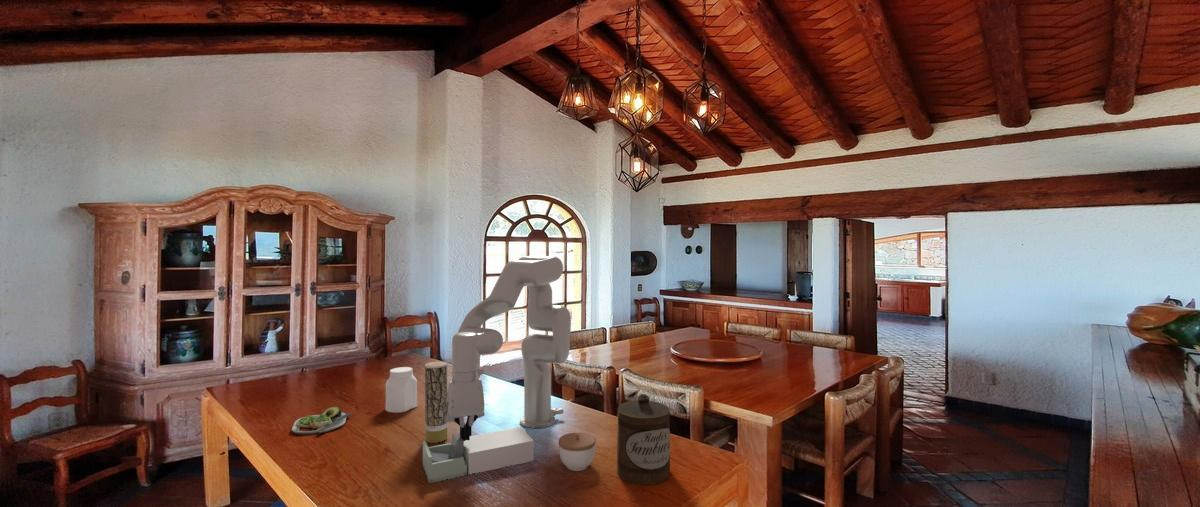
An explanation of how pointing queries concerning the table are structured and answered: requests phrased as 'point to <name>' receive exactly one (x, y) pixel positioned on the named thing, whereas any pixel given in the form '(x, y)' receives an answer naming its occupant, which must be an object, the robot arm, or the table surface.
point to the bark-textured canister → (436, 401)
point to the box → (442, 464)
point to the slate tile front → (439, 457)
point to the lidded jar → (577, 450)
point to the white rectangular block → (497, 450)
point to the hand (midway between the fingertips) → (465, 438)
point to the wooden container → (643, 441)
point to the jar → (401, 390)
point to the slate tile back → (456, 446)
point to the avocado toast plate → (321, 421)
